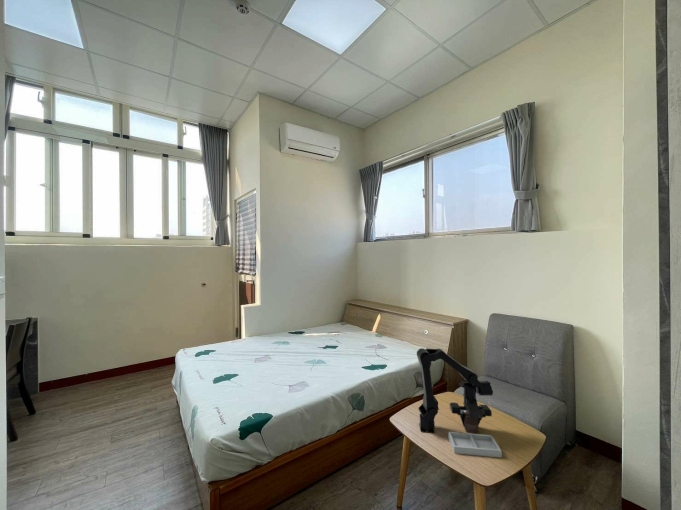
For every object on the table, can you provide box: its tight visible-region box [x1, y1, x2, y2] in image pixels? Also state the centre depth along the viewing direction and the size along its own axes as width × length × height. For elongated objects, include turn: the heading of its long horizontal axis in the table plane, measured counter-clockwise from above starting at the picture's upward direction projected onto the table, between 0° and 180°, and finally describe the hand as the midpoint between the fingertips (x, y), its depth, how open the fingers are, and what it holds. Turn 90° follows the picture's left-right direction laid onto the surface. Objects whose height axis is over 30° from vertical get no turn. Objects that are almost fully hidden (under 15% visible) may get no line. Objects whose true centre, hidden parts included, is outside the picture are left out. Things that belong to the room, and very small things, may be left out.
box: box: [463, 411, 479, 433], centre depth 137 cm, size 6×6×7 cm
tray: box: [447, 431, 503, 458], centre depth 123 cm, size 20×11×3 cm, turn 82°
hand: (470, 426), depth 137 cm, fingers closed on box, 6 cm apart
